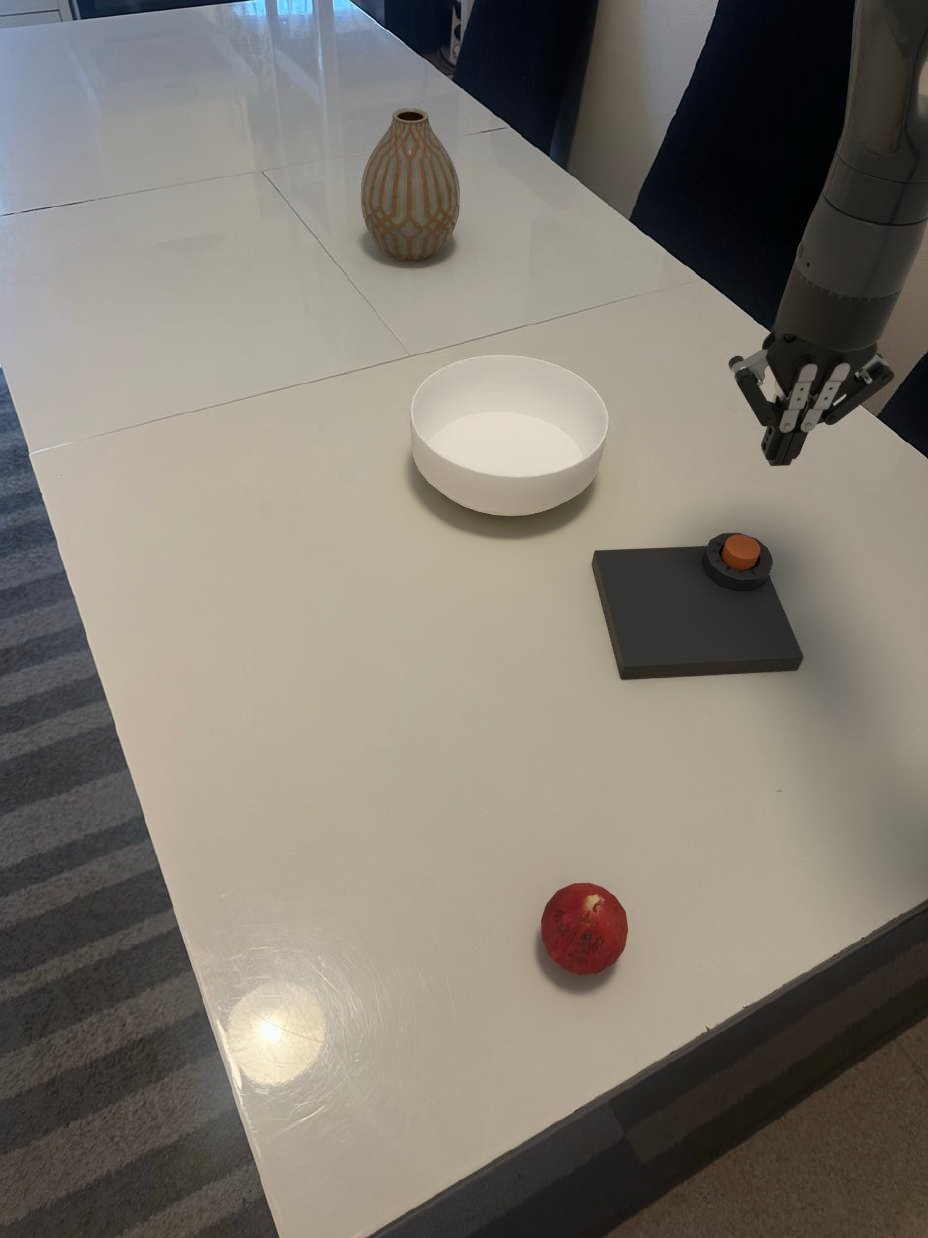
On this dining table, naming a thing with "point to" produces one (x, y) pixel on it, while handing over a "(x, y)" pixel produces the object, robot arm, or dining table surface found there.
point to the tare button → (740, 552)
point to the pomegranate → (584, 928)
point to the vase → (410, 189)
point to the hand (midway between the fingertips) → (776, 459)
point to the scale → (693, 612)
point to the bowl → (507, 433)
